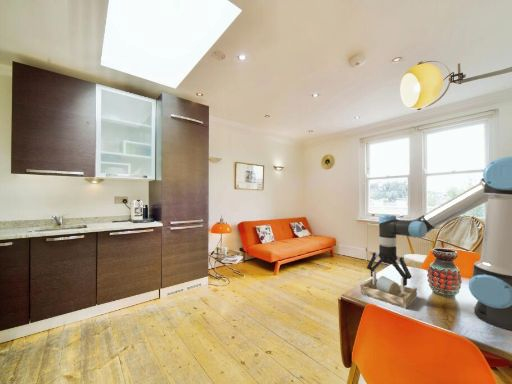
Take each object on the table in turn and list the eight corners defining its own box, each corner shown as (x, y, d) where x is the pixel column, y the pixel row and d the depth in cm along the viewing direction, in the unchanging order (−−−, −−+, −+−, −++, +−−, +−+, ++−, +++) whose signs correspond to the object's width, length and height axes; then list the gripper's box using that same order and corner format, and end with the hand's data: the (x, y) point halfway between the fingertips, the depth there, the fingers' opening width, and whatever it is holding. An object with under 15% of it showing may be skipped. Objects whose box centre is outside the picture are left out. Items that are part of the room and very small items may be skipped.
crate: (416, 297, 110) (416, 288, 110) (405, 309, 99) (405, 298, 99) (374, 285, 125) (374, 276, 125) (360, 293, 114) (360, 284, 114)
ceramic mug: (390, 298, 106) (390, 282, 106) (375, 291, 114) (375, 276, 114) (405, 295, 110) (405, 280, 110) (390, 289, 118) (390, 274, 118)
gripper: (418, 248, 106) (419, 293, 105) (366, 240, 124) (366, 278, 124) (414, 250, 101) (414, 298, 100) (360, 242, 119) (360, 282, 119)
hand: (388, 287), depth 112 cm, fingers open, 12 cm apart
